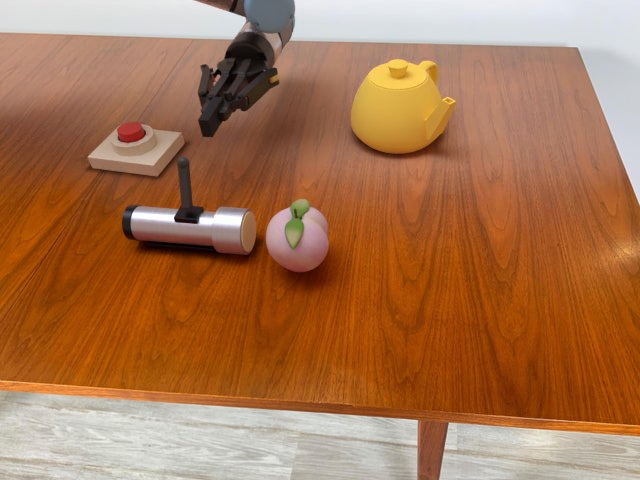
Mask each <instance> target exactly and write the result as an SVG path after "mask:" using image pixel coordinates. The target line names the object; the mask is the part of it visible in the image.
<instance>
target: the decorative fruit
mask: <svg viewBox="0 0 640 480" xmlns="http://www.w3.org/2000/svg"><path fill="white" fill-rule="evenodd" d="M328 224H329V223H328V221H327V218H326V217H325V216H324V214H323V213H322V212H320V211H319V209H317V208H315V207H313V206H311V205H310V202H309V200H307V199H305V198H299V199H296V200H295V201H293V202H292V203H291V204H290V205H289V207H287V208H285V209H282V210H280V211H278V212H277V213H276V214H275V215H274V216H273V217H272V218H271V219H270V221H269V222H268V225H267V227H266V232H265V244H266V248H267V252H268V253H269V255H270V257H271V258H272V259H273V261H275V262H276V263H277V264H278V265H280V266H281V267H283V268H285V269H287V270H288V271H292V272H296V273H306V272H309V271H312V270H314V269H316V268H317V267H319V266H320V265H321V264H322V263H323V262H324V260H325V259H326V257H327V254H328V252H329V249H330V248H329V247H330V242H329V238H328V236H329V225H328Z"/></svg>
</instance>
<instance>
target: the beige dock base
mask: <svg viewBox="0 0 640 480" xmlns="http://www.w3.org/2000/svg"><path fill="white" fill-rule="evenodd" d="M140 124H141V125H142V127H143V130H144V133H145V136H144V138H143V139H141V140H139V141H137V142H131V143H123V142H121V140H120V138H119V135H118V133H117V128H118V127H119V126H120V125H118V126H116V127H115V129H114V130H113V131H111V133H110V134H109V135H108V136H107V137H106V138H105V139H104V140H103V141H102V142H101V143H100V144H99V145H98V146H96V148H95V149H94V150H93V151H91V153H89V155H88V156H87V159H88V162H89V164H90V167H91V168H92V169H96V170H105V171H111V172H118V173H119V172H120V173H127V174H134V175H142V176H150V177H159V175H160V174H161V173H162V172H163V171H164V169H165V168H166V167H167V166H168V165H169V163H170V162H171V161H172V160H173V158H174V157H175V156H176V155H177V154H178V152H179V151H180V150H181V149H182V148H183V146H184V145H185V143H186V142H185V139H184V137H183V133H182V132H179V131H171V130H163V129H156V128H155V129H154V128H153V127H151V126H149V125H148V124H142V123H140Z"/></svg>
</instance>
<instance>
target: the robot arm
mask: <svg viewBox="0 0 640 480" xmlns="http://www.w3.org/2000/svg"><path fill="white" fill-rule="evenodd" d="M193 1H194V2H197V3H200V4H204V5H207V6H210V7H213V8H216V9H219V10H222V11H225V12H228V13H231V14H234V15H237V16H240V17H243V18H245V23H244V24H243V25H242V28H240V30H239V32H238V33H237V34H236V35H235V37H234V39H232V41H231V43H230V44H229V45H228V47H227V48H226V50H225V53H224V58H223V59H222V60H220V61H218V62H217V64H216V66H209V65H208V63H207V64H206V63H203V64H200V66H199V67H200V72H201V77H200V81H199V85H198V89H197V96H198V100H199V104H200V107H201V108H200V113H201V114H200V115H199V117H198V118H197V122H198V125H199V129H200V132H201V136H202V137H203V138H213V137H214V136H215V134H216V133H217V131H218V130H219V128H220V126H221V124H222V123H223V122H227V121H229V119H230V117H231V116H232V114H233V113H236V111H237V110H240V111H241V112H247V111H249V110H250V109H251V108H252V107H253V106H254V105H255V104H256V103H257V102H258V101H260V99H261V98H262V97H264V96H265V95H266V94H267V93H269V91H270V90H271V89H273V88H275V87H277V86H279V85H280V78H279V72H278V68H277V67H274V66H275V64H276V63H277V61H278V59H279V58H280V55H281V53H282V52H283V49H285V46H286V45H287V44H288V43H289V42H290V40H291V39H292V36H293V33H294V29H295V26H296V16H295V15H296V1H295V0H193ZM218 76H219V78H218ZM217 78H218V79H217ZM216 79H217V80H216ZM214 83H215V84H214Z"/></svg>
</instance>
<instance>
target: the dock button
mask: <svg viewBox="0 0 640 480" xmlns="http://www.w3.org/2000/svg"><path fill="white" fill-rule="evenodd" d="M141 124H142V123H140V122H138V121H129V122H124V123H122V124H121V125H120V126H119V125H118V126H119V127H118V126H117V127H118V128H117V127H116V128H117V133H118V135H119V138H120V140H121V142H123V143H131V142H137V141H139V140H141V139H143V138H144V136H145V133H144V130H143V127H142V125H141Z"/></svg>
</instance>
